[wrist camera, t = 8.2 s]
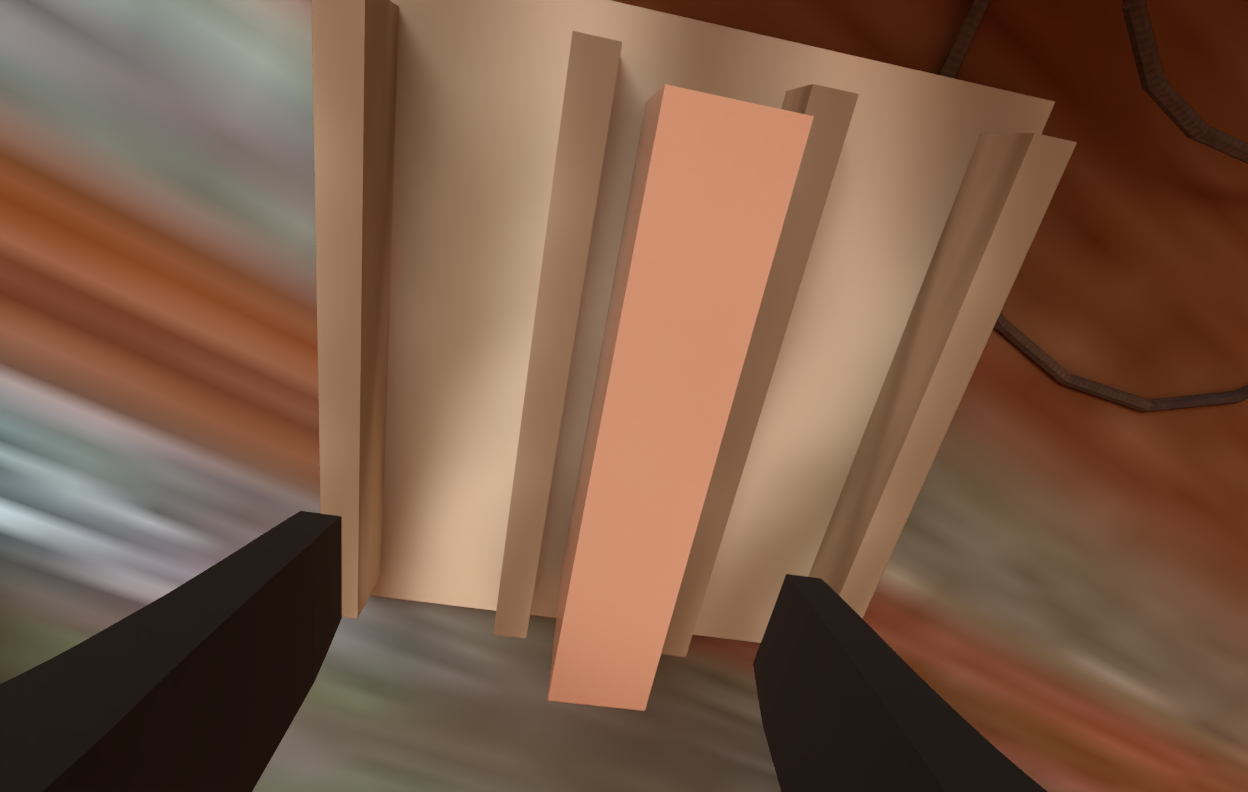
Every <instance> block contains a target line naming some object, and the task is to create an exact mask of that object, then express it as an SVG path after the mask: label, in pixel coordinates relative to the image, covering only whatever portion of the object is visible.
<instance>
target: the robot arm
mask: <svg viewBox="0 0 1248 792" xmlns="http://www.w3.org/2000/svg"><path fill="white" fill-rule="evenodd" d="M341 618H342V516H335V515H327V514H320V513H312V512H304V511H300V512H298V513H297V514H295V515H293V516H292V517H290V518H288V519H287V520H285V521H283V522H282V523H280V524H279V525H277V526H275V527H274V528H272V529H271V530H269V531H268V532H266V533H264V534H263V535H261V536H260V537H258V538H257V539H255V540H253V541H252V542H250V543H249V544H247V545H246V546H244V547H242V548H241V549H239V550H238V551H236V552H235V553H233V554H231V555H230V556H228V557H227V558H225V559H223V560H222V561H220V562H219V563H217V564H215V565H214V566H212V567H210V568H209V569H207V570H206V571H204V572H202V573H201V574H199V575H197V576H196V577H194V578H193V579H191V580H189V581H188V582H186V583H184V584H183V585H181V586H179V587H178V588H176V589H175V590H173V591H171V592H170V593H168V594H166V595H165V596H163V597H161V598H159V599H158V600H156V601H154V602H152V603H151V604H149V605H147V606H145V607H144V608H142V609H140V610H138V611H136V612H135V613H133V614H131V615H129V616H128V617H126V618H124V619H122V620H121V621H119V622H117V623H115V624H113V625H112V626H110V627H108V628H106V629H105V630H103V631H101V632H99V633H98V634H96V635H94V636H92V637H91V638H89V639H87V640H85V641H83V642H82V643H80V644H78V645H76V646H74V647H73V648H71V649H69V650H67V651H65V652H63V653H61V654H59V655H58V656H56V657H54V658H52V659H50V660H48V661H46V662H44V663H42V664H40V665H38V666H36V667H34V668H32V669H30V670H29V671H27V672H25V673H23V674H21V675H19V676H17V677H15V678H13V679H11V680H9V681H7V682H4V683H2V684H0V792H252V791H253V789H254V787H255V785H256V784H257V782H258V780H259V778H260V777H261V775H262V773H263V771H264V770H265V768H266V766H267V764H268V763H269V761H270V759H271V757H272V756H273V754H274V752H275V750H276V749H277V747H278V745H279V743H280V742H281V740H282V738H283V737H284V735H285V733H286V731H287V729H288V728H289V726H290V724H291V722H292V721H293V719H294V717H295V715H296V714H297V712H298V710H299V708H300V706H301V705H302V703H303V701H304V699H305V698H306V696H307V694H308V692H309V690H310V689H311V687H312V685H313V683H314V681H315V679H316V677H317V675H318V672H319V670H320V668H321V665H322V663H323V661H324V659H325V656H326V654H327V652H328V649H329V647H330V645H331V642H332V640H333V637H334V635H335V633H336V630H337V628H338V625H339V623H340V620H341ZM753 665H754V672H755V679H756V686H757V692H758V699H759V705H760V710H761V716H762V722H763V727H764V731H765V734H766V738H767V742H768V745H769V749H770V753H771V756H772V760H773V763H774V767H775V770H776V774H777V777H778V781H779V784H780V788H781V791H782V792H1047V791H1046V790H1045V789H1043V788H1042V787H1041V786H1040V785H1039V784H1037V783H1036V782H1035V781H1034V780H1032V779H1031V778H1030V777H1029V776H1028V775H1026V774H1025V773H1024V772H1023V771H1022V770H1021V769H1019V768H1018V767H1017V766H1016V765H1015V764H1014V763H1012V762H1011V761H1010V760H1009V759H1008V758H1007V757H1005V756H1004V755H1003V754H1002V753H1001V752H1000V751H999V750H997V749H996V748H995V747H994V746H993V745H992V744H991V743H990V742H989V741H988V740H986V739H985V738H984V737H983V736H982V735H981V734H980V733H979V732H978V731H977V730H976V729H974V728H973V727H972V726H971V725H970V724H969V723H968V722H967V721H966V720H965V719H964V718H962V717H961V716H960V715H959V714H958V713H957V712H956V711H955V710H954V709H953V708H952V707H951V706H950V705H948V704H947V703H946V702H945V701H944V700H943V699H942V698H941V697H940V696H939V695H938V694H937V693H936V692H935V691H934V690H933V689H932V688H931V687H930V686H929V685H928V684H927V683H926V682H925V681H924V680H923V679H922V678H920V677H919V676H918V675H917V674H916V673H915V672H914V671H913V670H912V669H911V668H910V667H909V666H908V665H907V664H906V663H905V662H904V661H903V660H902V659H901V658H900V657H899V656H898V655H897V654H896V653H895V652H894V651H893V650H892V649H891V648H890V647H889V646H888V644H887V643H886V642H885V641H884V640H883V639H882V638H881V637H880V636H879V635H878V634H877V633H876V632H875V631H874V630H873V629H872V628H871V627H870V626H869V625H868V624H867V623H866V622H865V621H864V620H863V619H862V618H861V617H860V616H859V615H858V614H857V613H856V612H855V611H854V610H853V609H852V608H851V607H850V606H849V605H848V604H847V603H846V602H845V601H844V600H843V599H842V598H841V597H840V596H839V595H838V594H837V593H836V592H835V591H834V590H833V589H832V588H831V587H830V586H829V585H828V584H827V583H825V582H824V581H823V580H822V579H821V578H814V577H806V576H798V575H791V574H786V576H785V579H784V581H783V584H782V587H781V590H780V592H779V595H778V598H777V600H776V603H775V606H774V609H773V611H772V614H771V617H770V619H769V622H768V625H767V628H766V630H765V633H764V636H763V639H762V641H761V644H760V647H759V649H758V652H757V655H756V658H755V660H754V663H753Z"/></svg>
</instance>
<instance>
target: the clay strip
mask: <svg viewBox="0 0 1248 792" xmlns="http://www.w3.org/2000/svg"><path fill="white" fill-rule="evenodd" d="M813 118H814V116H810V115H806V114H801V113H796V112H792V111H787V110H783V109H778V108H773V107H769V106H764V105H759V104H755V103H750V102H745V101H741V100H736V99H731V98H727V97H722V96H718V95H713V94H708V93H704V92H699V91H694V90H690V89H685V88H680V87H676V86H671V85H666V84H665V85H664V86H663V87H662V88H660V89H659V90H658V91H657V92H656V93H655V94H654V95H653V96H652V97H651V98H650V99H649V100H647V101H646V104H645V109H644V115H643V120H642V126H641V131H640V137H639V142H638V148H637V153H636V159H635V165H634V170H633V176H632V181H631V187H630V192H629V198H628V203H627V209H626V214H625V220H624V225H623V231H622V236H621V242H620V247H619V253H618V258H617V264H616V269H615V275H614V280H613V286H612V292H611V297H610V303H609V308H608V314H607V319H606V325H605V330H604V336H603V341H602V347H601V352H600V358H599V363H598V369H597V374H596V380H595V385H594V391H593V396H592V402H591V407H590V413H589V419H588V424H587V430H586V435H585V441H584V446H583V452H582V457H581V463H580V468H579V474H578V479H577V485H576V490H575V496H574V501H573V507H572V512H571V518H570V523H569V529H568V534H567V540H566V546H565V551H564V557H563V562H562V568H561V577H560V587H559V596H558V606H557V615H556V625H555V635H554V644H553V654H552V663H551V673H550V683H549V692H548V700H549V701H558V702H567V703H577V704H586V705H595V706H605V707H614V708H623V709H632V710H642V711H645V709H646V705H647V702H648V698H649V695H650V691H651V688H652V684H653V680H654V677H655V673H656V670H657V666H658V663H659V659H660V656H661V652H662V649H663V645H664V642H665V638H666V635H667V631H668V628H669V624H670V621H671V617H672V614H673V610H674V607H675V603H676V600H677V596H678V593H679V589H680V586H681V582H682V579H683V575H684V571H685V568H686V564H687V561H688V557H689V554H690V550H691V547H692V543H693V540H694V536H695V533H696V529H697V526H698V522H699V519H700V515H701V512H702V508H703V505H704V501H705V498H706V494H707V491H708V487H709V484H710V480H711V477H712V473H713V469H714V466H715V462H716V459H717V455H718V452H719V448H720V445H721V441H722V438H723V434H724V431H725V427H726V424H727V420H728V417H729V413H730V410H731V406H732V403H733V399H734V396H735V392H736V389H737V385H738V382H739V378H740V375H741V371H742V368H743V364H744V360H745V357H746V353H747V350H748V346H749V343H750V339H751V336H752V332H753V329H754V325H755V322H756V318H757V315H758V311H759V308H760V304H761V301H762V297H763V294H764V290H765V287H766V283H767V280H768V276H769V273H770V269H771V266H772V262H773V258H774V255H775V251H776V248H777V244H778V241H779V237H780V234H781V230H782V227H783V223H784V220H785V216H786V213H787V209H788V206H789V202H790V199H791V195H792V192H793V188H794V185H795V181H796V178H797V174H798V171H799V167H800V164H801V160H802V157H803V153H804V149H805V146H806V142H807V139H808V135H809V132H810V128H811V125H812V121H813Z"/></svg>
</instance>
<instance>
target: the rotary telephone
mask: <svg viewBox="0 0 1248 792" xmlns="http://www.w3.org/2000/svg"><path fill="white" fill-rule="evenodd" d="M1145 1H1146V0H1123V3H1122V9H1123V13H1124V17H1125V22H1126V26H1127V30H1128V34H1129V38H1130V42H1131V46H1132V50H1133V54H1134V58H1135V62H1136V66H1137V70H1138V74H1139V78H1140V82H1141V86H1142V88H1143V89H1144V90H1145V91H1146V92H1147V94H1148V95H1149V96H1150V97H1151V98H1152V99H1153V100H1154V101H1155V102H1156V103H1157V104H1158V106H1159V107H1160V108H1161V109H1162V110H1163V111H1164V112H1165V113H1166V114H1167V115H1168V116H1169V118H1170V119H1171V120H1172V121H1173V122H1174V123H1175V124H1176V125H1177V126H1178V127H1179V128H1180V130H1181V131H1182V132H1183V133H1184V134H1185V135H1186V136H1187V137H1188V138H1191V139H1193V140H1195V141H1197V142H1200V143H1202V144H1204V145H1206V146H1209V147H1211V148H1213V149H1216V150H1218V151H1220V152H1222V153H1225V154H1227V155H1229V156H1231V157H1234V158H1236V159H1238V160H1240V161H1243V162H1245V163H1247V164H1248V143H1247V142H1244V141H1242V140H1240V139H1237V138H1235V137H1233V136H1231V135H1228V134H1226V133H1224V132H1221V131H1219V130H1217V129H1215V128H1212V127H1210V126H1208V125H1207V124H1206V123H1205V122H1204V121H1203V120H1202V119H1201V118H1200V116H1199V115H1198V114H1197V113H1196V112H1195V111H1194V110H1193V109H1192V108H1191V107H1190V106H1189V104H1188V103H1187V102H1186V101H1185V100H1184V99H1183V98H1182V97H1181V96H1180V95H1179V94H1178V92H1177V91H1176V90H1175V89H1174V88H1173V87H1172V86H1171V85H1170V84H1169V83H1168V82H1167V81H1166V79H1165V78H1164V75H1163V71H1162V67H1161V63H1160V59H1159V55H1158V51H1157V47H1156V43H1155V39H1154V35H1153V31H1152V27H1151V23H1150V19H1149V15H1148V11H1147V7H1146V2H1145ZM989 3H990V0H973V2H972V4H971V6H970V8H969V10H968V12H967V15H966V17H965V19H964V21H963V23H962V25H961V28H960V30H959V32H958V34H957V36H956V39H955V41H954V43H953V45H952V47H951V49H950V52H949V54H948V56H947V58H946V60H945V62H944V65H943V67H942V69H941V71H940V73H939V75H941V76H945V77H949V78H954V77H955V75H956V73H957V71H958V69H959V67H960V65H961V62H962V60H963V58H964V56H965V54H966V52H967V50H968V47H969V45H970V43H971V41H972V39H973V37H974V35H975V33H976V30H977V28H978V26H979V24H980V22H981V20H982V18H983V15H984V13H985V11H986V9H987V7H988V5H989ZM994 327H995V328H996V329H997V330H998V331H999V332H1000V333H1002V334H1003V335H1004V336H1005V337H1006V338H1008V339H1009V340H1010V341H1011V342H1012V343H1013V344H1015V345H1016V346H1017V347H1018V348H1019V349H1021V350H1022V351H1023V352H1024V353H1025V354H1026V355H1028V356H1029V357H1030V358H1031V359H1032V360H1034V361H1035V362H1036V363H1037V364H1038V365H1039V366H1041V367H1042V368H1043V369H1044V370H1045V371H1047V372H1048V373H1049V374H1050V375H1051V376H1052V377H1054V378H1055V379H1056V380H1057V381H1058V382H1060V383H1061V384H1063V385H1066V386H1069V387H1072V388H1075V389H1078V390H1081V391H1083V392H1086V393H1089V394H1092V395H1095V396H1098V397H1101V398H1104V399H1107V400H1110V401H1113V402H1116V403H1119V404H1121V405H1124V406H1127V407H1130V408H1133V409H1136V410H1139V411H1142V412H1149V411H1160V410H1170V409H1180V408H1190V407H1201V406H1211V405H1221V404H1231V403H1238V402H1241V401H1243V400H1245V399H1248V386H1246V387H1244V388H1242V389H1240V390H1237V391H1233V392H1224V393H1215V394H1205V395H1196V396H1187V397H1178V398H1169V399H1160V400H1151V401H1149V400H1146V399H1143V398H1140V397H1137V396H1134V395H1131V394H1128V393H1125V392H1123V391H1120V390H1117V389H1114V388H1111V387H1108V386H1105V385H1102V384H1099V383H1096V382H1093V381H1090V380H1087V379H1084V378H1081V377H1078V376H1075V375H1072V374H1069V373H1068V372H1067V371H1066V370H1065V369H1064V368H1062V367H1061V366H1060V365H1059V364H1058V363H1056V362H1055V361H1054V360H1053V359H1052V358H1051V357H1049V356H1048V355H1047V354H1046V353H1045V352H1044V351H1042V350H1041V349H1040V348H1039V347H1038V346H1036V345H1035V344H1034V343H1033V342H1032V341H1031V340H1029V339H1028V338H1027V337H1026V336H1025V335H1023V334H1022V333H1021V332H1020V331H1019V330H1018V329H1016V328H1015V327H1014V326H1013V325H1012V324H1011V323H1009V322H1008V321H1007V320H1006V319H1005V318H1004V316H1003V315H1002V313H1001V312H1000V315H999V317H998V319H997V321H996V323H995V326H994Z"/></svg>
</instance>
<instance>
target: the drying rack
mask: <svg viewBox="0 0 1248 792" xmlns="http://www.w3.org/2000/svg"><path fill="white" fill-rule="evenodd" d="M312 55H313V110H314V165H315V220H316V274H317V329H318V384H319V439H320V493H321V514H327V515H335V516H342V617H348V618H357V619H358V617H359V615H360V613H361V611H362V609H363V607H364V605H365V603H366V601H367V599H368V597H369V596H370V595H371V596H379V597H388V598H396V599H404V600H412V601H421V602H429V603H437V604H445V605H453V606H462V607H470V608H478V609H486V610H494V611H496V617H495V625H494V632H493V635H501V636H510V637H518V638H526V636H527V630H528V624H529V618H530V615H536V616H544V617H552V618H556V615H557V606H558V596H559V587H560V577H561V568H562V562H563V557H564V551H565V546H566V540H567V534H568V529H569V523H570V518H571V512H572V507H573V501H574V496H575V490H576V485H577V479H578V474H579V468H580V463H581V457H582V452H583V446H584V441H585V435H586V430H587V424H588V419H589V413H590V407H591V402H592V396H593V391H594V385H595V380H596V374H597V369H598V363H599V358H600V352H601V347H602V341H603V336H604V330H605V325H606V319H607V314H608V308H609V303H610V297H611V292H612V286H613V280H614V275H615V269H616V264H617V258H618V253H619V247H620V242H621V236H622V231H623V225H624V220H625V214H626V209H627V203H628V198H629V192H630V187H631V181H632V176H633V170H634V165H635V159H636V153H637V148H638V142H639V137H640V131H641V126H642V120H643V115H644V109H645V104H646V101H647V100H649V99H650V98H651V97H652V96H653V95H654V94H655V93H656V92H657V91H658V90H659V89H660V88H662V87H663V86H664V85H665V84H666V85H671V86H676V87H680V88H685V89H690V90H694V91H699V92H704V93H708V94H713V95H718V96H722V97H727V98H731V99H736V100H741V101H745V102H750V103H755V104H759V105H764V106H769V107H773V108H778V109H783V110H787V111H792V112H796V113H801V114H806V115H810V116H814V118H813V121H812V125H811V128H810V132H809V135H808V139H807V142H806V146H805V149H804V153H803V157H802V160H801V164H800V167H799V171H798V174H797V178H796V181H795V185H794V188H793V192H792V195H791V199H790V202H789V206H788V209H787V213H786V216H785V220H784V223H783V227H782V230H781V234H780V237H779V241H778V244H777V248H776V251H775V255H774V258H773V262H772V266H771V269H770V273H769V276H768V280H767V283H766V287H765V290H764V294H763V297H762V301H761V304H760V308H759V311H758V315H757V318H756V322H755V325H754V329H753V332H752V336H751V339H750V343H749V346H748V350H747V353H746V357H745V360H744V364H743V368H742V371H741V375H740V378H739V382H738V385H737V389H736V392H735V396H734V399H733V403H732V406H731V410H730V413H729V417H728V420H727V424H726V427H725V431H724V434H723V438H722V441H721V445H720V448H719V452H718V455H717V459H716V462H715V466H714V469H713V473H712V477H711V480H710V484H709V487H708V491H707V494H706V498H705V501H704V505H703V508H702V512H701V515H700V519H699V522H698V526H697V529H696V533H695V536H694V540H693V543H692V547H691V550H690V554H689V557H688V561H687V564H686V568H685V571H684V575H683V579H682V582H681V586H680V589H679V593H678V596H677V600H676V603H675V607H674V610H673V614H672V617H671V621H670V624H669V628H668V631H667V635H666V638H665V642H664V645H663V649H662V652H661V654H663V655H671V656H680V657H686V655H687V652H688V648H689V645H690V642H691V638H692V635H700V636H708V637H716V638H725V639H733V640H741V641H749V642H757V643H761V641H762V639H763V636H764V633H765V630H766V628H767V625H768V622H769V619H770V617H771V614H772V611H773V609H774V606H775V603H776V600H777V598H778V595H779V592H780V590H781V587H782V584H783V581H784V579H785V576H786V574H791V575H798V576H806V577H814V578H821V579H822V580H823V581H824V582H825V583H827V584H828V585H829V586H830V587H831V588H832V589H833V590H834V591H835V592H836V593H837V594H838V595H839V596H840V597H841V598H842V599H843V600H844V601H845V602H846V603H847V604H848V605H849V606H850V607H851V608H852V609H853V610H854V611H855V612H856V613H857V614H858V615H859V616H860V617H861V618H862V619H863V616H864V614H865V612H866V610H867V607H868V605H869V603H870V601H871V599H872V596H873V594H874V592H875V590H876V587H877V585H878V583H879V581H880V579H881V576H882V574H883V572H884V570H885V567H886V565H887V563H888V561H889V559H890V556H891V554H892V552H893V550H894V548H895V545H896V543H897V541H898V539H899V536H900V534H901V532H902V530H903V528H904V525H905V523H906V521H907V519H908V516H909V514H910V512H911V510H912V508H913V505H914V503H915V501H916V499H917V496H918V494H919V492H920V490H921V488H922V485H923V483H924V481H925V479H926V477H927V474H928V472H929V470H930V468H931V465H932V463H933V461H934V459H935V457H936V454H937V452H938V450H939V448H940V445H941V443H942V441H943V439H944V437H945V434H946V432H947V430H948V428H949V425H950V423H951V421H952V419H953V417H954V414H955V412H956V410H957V408H958V405H959V403H960V401H961V399H962V397H963V394H964V392H965V390H966V388H967V386H968V383H969V381H970V379H971V377H972V374H973V372H974V370H975V368H976V366H977V363H978V361H979V359H980V357H981V354H982V352H983V350H984V348H985V346H986V343H987V341H988V339H989V337H990V334H991V332H992V330H993V328H994V326H995V323H996V321H997V319H998V317H999V315H1000V312H1001V310H1002V308H1003V306H1004V303H1005V301H1006V299H1007V297H1008V295H1009V292H1010V290H1011V288H1012V286H1013V283H1014V281H1015V279H1016V277H1017V275H1018V272H1019V270H1020V268H1021V266H1022V263H1023V261H1024V259H1025V257H1026V255H1027V252H1028V250H1029V248H1030V246H1031V244H1032V241H1033V239H1034V237H1035V235H1036V232H1037V230H1038V228H1039V226H1040V224H1041V221H1042V219H1043V217H1044V215H1045V212H1046V210H1047V208H1048V206H1049V204H1050V201H1051V199H1052V197H1053V195H1054V192H1055V190H1056V188H1057V186H1058V184H1059V181H1060V179H1061V177H1062V175H1063V173H1064V170H1065V168H1066V166H1067V164H1068V161H1069V159H1070V157H1071V155H1072V153H1073V150H1074V148H1075V146H1076V144H1077V142H1074V141H1069V140H1065V139H1060V138H1056V137H1051V136H1046V135H1042V132H1043V129H1044V127H1045V125H1046V122H1047V120H1048V118H1049V115H1050V113H1051V111H1052V108H1053V106H1054V104H1055V101H1050V100H1046V99H1042V98H1037V97H1033V96H1028V95H1024V94H1020V93H1015V92H1011V91H1006V90H1002V89H998V88H993V87H989V86H985V85H980V84H976V83H971V82H967V81H963V80H958V79H954V78H949V77H945V76H941V75H936V74H932V73H927V72H923V71H919V70H914V69H910V68H905V67H901V66H897V65H892V64H888V63H883V62H879V61H875V60H870V59H866V58H861V57H857V56H853V55H848V54H844V53H840V52H835V51H831V50H826V49H822V48H818V47H813V46H809V45H804V44H800V43H796V42H791V41H787V40H782V39H778V38H774V37H769V36H765V35H760V34H756V33H752V32H747V31H743V30H738V29H734V28H730V27H725V26H721V25H716V24H712V23H708V22H703V21H699V20H695V19H690V18H686V17H681V16H677V15H673V14H668V13H664V12H659V11H655V10H651V9H646V8H642V7H637V6H633V5H629V4H624V3H620V2H615V1H611V0H312Z"/></svg>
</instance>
